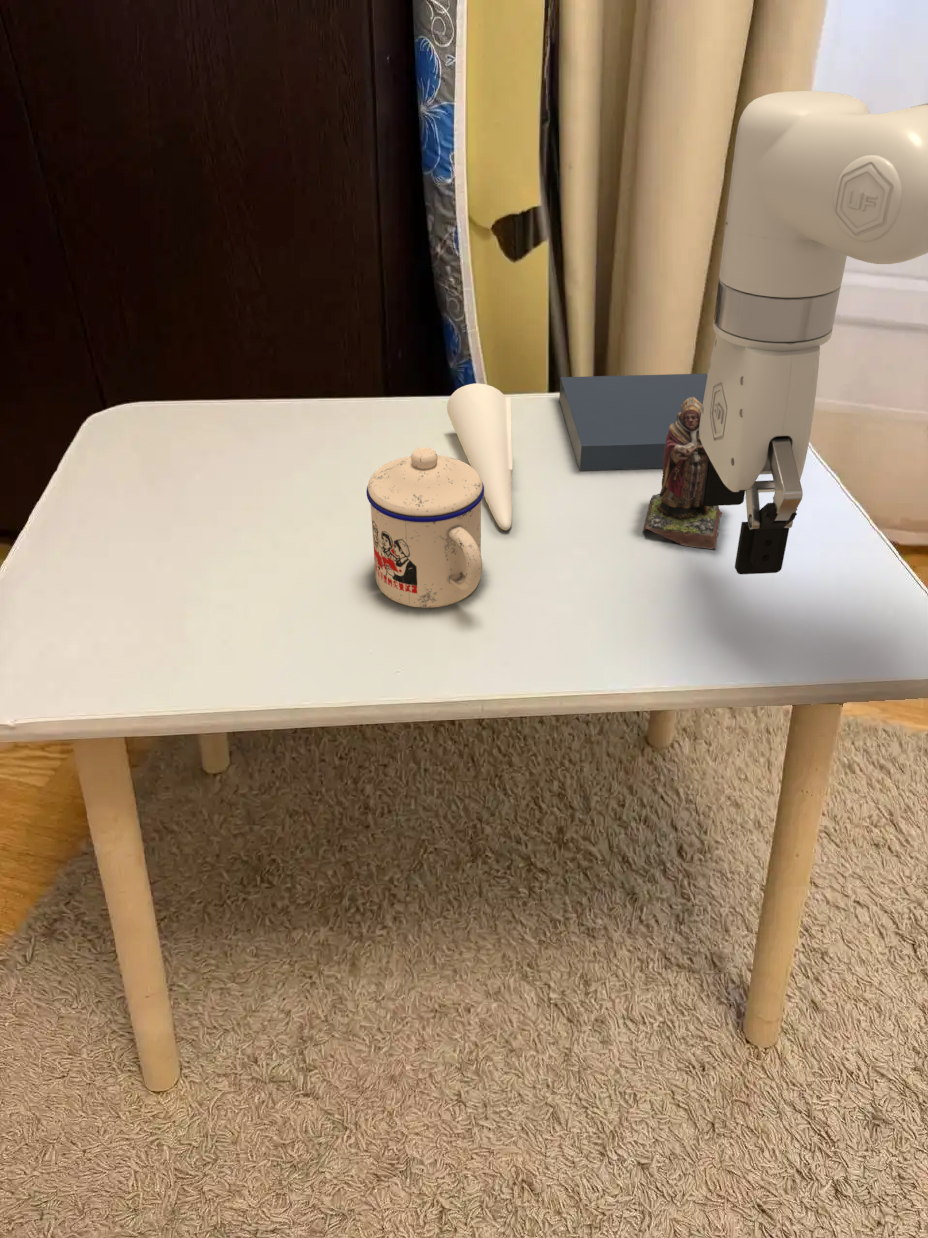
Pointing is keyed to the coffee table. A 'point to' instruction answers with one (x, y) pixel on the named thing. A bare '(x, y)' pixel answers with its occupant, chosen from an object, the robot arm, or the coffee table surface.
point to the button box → (624, 417)
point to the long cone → (487, 442)
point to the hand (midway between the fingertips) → (738, 535)
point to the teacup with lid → (426, 529)
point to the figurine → (684, 486)
